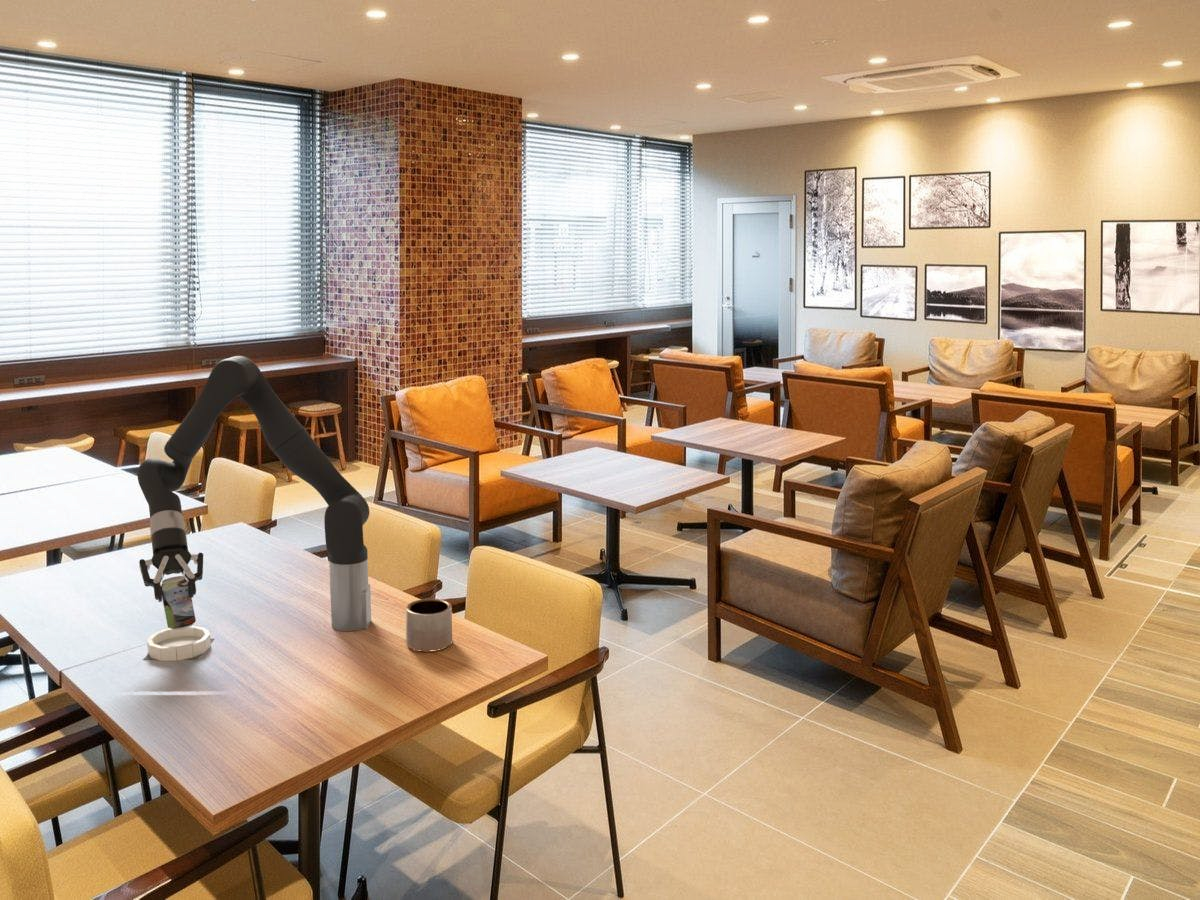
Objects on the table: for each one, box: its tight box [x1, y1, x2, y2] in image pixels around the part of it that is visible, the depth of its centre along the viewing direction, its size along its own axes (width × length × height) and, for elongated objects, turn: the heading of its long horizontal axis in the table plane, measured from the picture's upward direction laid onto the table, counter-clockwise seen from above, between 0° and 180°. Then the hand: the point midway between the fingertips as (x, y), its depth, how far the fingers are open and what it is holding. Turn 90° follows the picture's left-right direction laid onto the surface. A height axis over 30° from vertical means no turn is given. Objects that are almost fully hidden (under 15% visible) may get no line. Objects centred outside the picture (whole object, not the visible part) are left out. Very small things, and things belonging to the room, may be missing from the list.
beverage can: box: [161, 575, 197, 630], centre depth 220 cm, size 6×7×12 cm
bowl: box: [146, 625, 212, 662], centre depth 222 cm, size 13×13×3 cm
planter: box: [405, 598, 453, 651], centre depth 228 cm, size 11×11×10 cm
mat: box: [142, 638, 215, 661], centre depth 222 cm, size 12×12×1 cm
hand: (176, 598), depth 218 cm, fingers closed on beverage can, 6 cm apart
